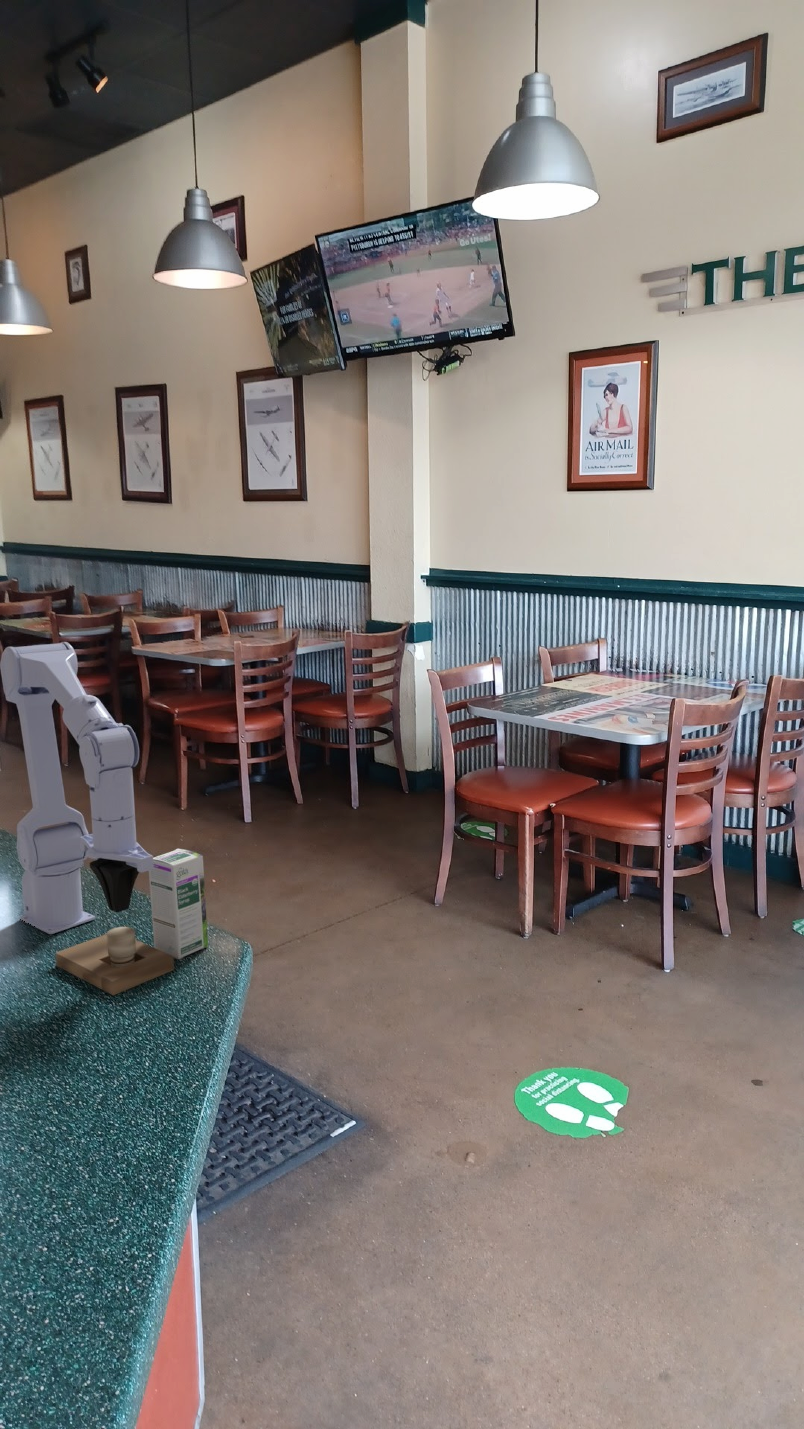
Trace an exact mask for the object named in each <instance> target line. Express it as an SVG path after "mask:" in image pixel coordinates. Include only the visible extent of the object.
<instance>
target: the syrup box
mask: <svg viewBox="0 0 804 1429" xmlns="http://www.w3.org/2000/svg"><path fill="white" fill-rule="evenodd" d="M153 865H154V869H152V870H149V871H148V877H149V878H148V880H149V881H148V882H149V893H150V894H149V895H150V905H151V906H150V908H151V920H152V933H153V948H155V949H158V950H160V951H162V952H164V953H167V954H169V955H171V956H173V957H174V959H177V960H182V959H183V958H184V957H186V956H189V955H190V954H193V953H195V952H197V951H199V950H200V951H201V950H203V949H206V948H208V946H209V936H208V922H207V920H208V919H207V918H208V917H207V906H206V888H205V886H206V885H205V872H204V856H203V855H202V854H200V853H197V852H196V851H192V850H188V849H183V848H176V849H174V850H172V851H169V852H166V853H163V854H161V855H157V856H155V857H154V856H153Z"/></svg>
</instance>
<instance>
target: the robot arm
mask: <svg viewBox="0 0 804 1429" xmlns="http://www.w3.org/2000/svg"><path fill="white" fill-rule="evenodd" d="M0 657H1V658H0V675H1V682H2V686H3V687H2V689H3V693H4V695H5V700H6V701H7V702H9V703H13V704H16V708H17V711H18V716H19V722H20V728H21V736H22V741H23V749H24V756H25V757H24V758H25V762H26V769H27V776H28V784H29V789H30V790H29V791H30V795H31V803H32V808H31V810H29V812H27V813H26V814H25V815H24V817H23V818H22V819H21V820H20V821H19V822H18V823H17V824H16V835H17V840H16V853H17V857H18V861H19V863H20V865H21V867H22V868H23V869H24V872H23V874H22V877H21V890H22V902H23V914H22V915H20V916H18V919H19V920H20V919H21V920H20V921H22V920H23V921H22V922H24V921H25V922H24V923H26V924H28V923H29V924H28V925H30V924H31V925H30V926H32V927H34V926H35V927H34V928H36V929H38V930H40V931H42V932H45V933H47V934H48V935H53V934H55V933H56V934H57V933H58V932H59V933H60V932H62V931H64V930H68V929H70V928H73V927H77V926H79V925H81V924H85V923H87V922H90V921H93V920H95V916H96V915H93V914H91V913H89V912H86V911H84V910H83V909H84V907H83V895H82V894H83V893H82V892H83V891H82V881H81V880H82V879H81V867H83V866H84V865H85V864H84V861H85V860H87V859H88V858H89V859H92V861H90V862H89V868H90V869H91V871H92V872H93V874H94V875H95V876H96V878H97V880H98V883H99V884H100V887H101V889H102V891H103V894H104V898H105V901H106V904H107V906H108V910H110V911H112V912H115V913H116V914H117V913H120V912H123V911H126V910H129V908H130V905H131V900H132V894H133V889H134V886H135V883H136V879H137V877H138V875H139V874H140V873H141V874H143V873H145V872H149V870H152V869H154V865H153V858H154V856H153V855H152V854H151V853H148V851H146V850H145V849H144V848H143V847H142V846H141V845H140V843H139V842H137V830H136V829H137V828H136V827H137V826H136V809H135V808H136V807H135V793H134V776H133V774H134V773H133V768H135V767H137V765H138V763H139V759H140V747H139V746H140V745H139V741H138V738H137V736H136V732H134V730H133V728H132V727H131V726H130V725H129V724H125V725H124V724H123V723H122V722H119V723H118V722H116V721H115V719H114V718H113V716H112V715H111V714H110V713H109V711H108V710H107V708H106V707H105V705H104V704H103V702H101V700H100V699H99V698H98V697H96V696H94V695H91V694H87V693H86V691H85V689H84V687H83V685H82V683H81V681H80V680H79V678H78V676H77V675H78V669H79V668H78V667H79V666H78V665H79V663H78V657H77V653H76V651H75V649H74V647H73V646H72V645H71V644H70V643H69V642H67V641H61V642H58V643H50V644H49V643H48V644H38V645H37V644H36V645H27V646H7V647H5V649H4V650H3V652H2V654H1V656H0ZM54 701H57V703H58V704H59V705H60V706H61V707H62V709H63V711H62V721H63V724H64V725H65V726H66V728H67V729H68V730H69V732H70V734H71V735H72V737H73V738H74V740H75V741H76V743H77V744H78V746H79V749H78V750H79V758H80V762H81V765H82V768H83V773H84V780H85V784H86V785H87V786H88V787H89V800H90V801H89V802H90V814H91V830H92V831H91V832H92V833H90V834H89V831H88V829H87V826H86V822H85V817H84V815H83V814H82V813H81V812H80V811H78V809H75V808H73V807H71V806H69V805H68V804H66V796H65V790H64V784H63V777H62V770H61V762H60V756H59V749H58V743H57V736H56V729H55V721H54V717H53V716H54V715H53V709H52V708H53V707H52V705H53V703H54ZM54 825H55V826H54ZM49 826H50V827H49ZM44 827H45V828H44Z"/></svg>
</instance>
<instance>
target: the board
mask: <svg viewBox="0 0 804 1429" xmlns="http://www.w3.org/2000/svg"><path fill="white" fill-rule="evenodd" d="M135 943H136V952H135V954H134V956H135V958H134V961H135V962H134V963H131V964H129V965H126V966H124V967H121V968H119V969H117V968H115V967H113V966H111V961H110V956H109V955H108V947H107V933H105V934H103V935H99V936H98V937H94V938H92V939H90V940H87V941H84V942H81V943H79V944H75V945H72V946H70V947H67V948H64V949H61V950H59V951H56V952H55V964H56V965H55V966H57V967H58V968H59V969H62V970H64V971H65V972H68V973H70V974H72V975H74V976H75V977H77V978H79V979H81V980H83V981H85V982H87V983H89V984H91V985H93V986H94V987H96V988H98V989H100V990H102V991H104V992H106V993H108V994H110V995H112V996H115V995H118V994H120V993H123V992H125V991H127V990H130V989H132V988H135V987H136V986H139V985H141V984H144V983H146V982H149V981H151V980H153V979H156V978H158V977H160V976H163V975H165V974H168V973H170V972H172V971H174V970H175V962H174V959H175V958H174V957H173V956H171V955H169V954H167V953H164V952H162V951H160V950H158V949H155V948H154V946H151V945H148V944H146V943H144V942H142V941H140V940H138V939H135Z"/></svg>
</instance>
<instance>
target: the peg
mask: <svg viewBox="0 0 804 1429" xmlns="http://www.w3.org/2000/svg"><path fill="white" fill-rule="evenodd" d="M106 934H107V947H108V955H109V956H110V961H111V966H113V967H115V968H117V969H119V968H121V967H124V966H126V965H129V964H131V963H134V962H135V961H134V958H135V956H134V954H135V952H136V943H135V940H136V932H135V929H134V928H133V927H129V926H119V927H113V928H111V929H109V930H108V931H107V932H106Z"/></svg>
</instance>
